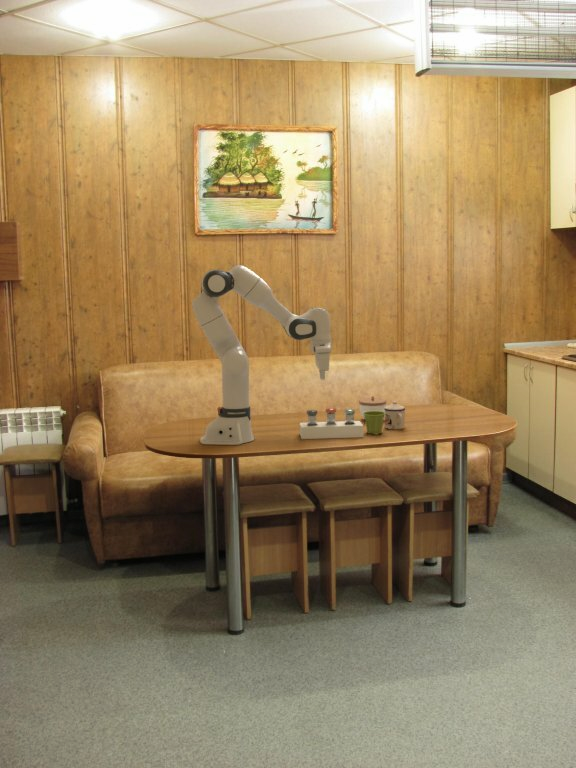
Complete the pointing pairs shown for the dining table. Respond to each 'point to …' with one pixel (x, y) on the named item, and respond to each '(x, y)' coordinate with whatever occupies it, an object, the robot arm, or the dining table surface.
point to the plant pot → (374, 421)
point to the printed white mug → (394, 416)
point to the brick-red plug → (330, 415)
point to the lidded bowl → (372, 405)
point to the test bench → (331, 430)
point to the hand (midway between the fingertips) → (322, 379)
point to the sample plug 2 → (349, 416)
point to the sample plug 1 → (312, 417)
